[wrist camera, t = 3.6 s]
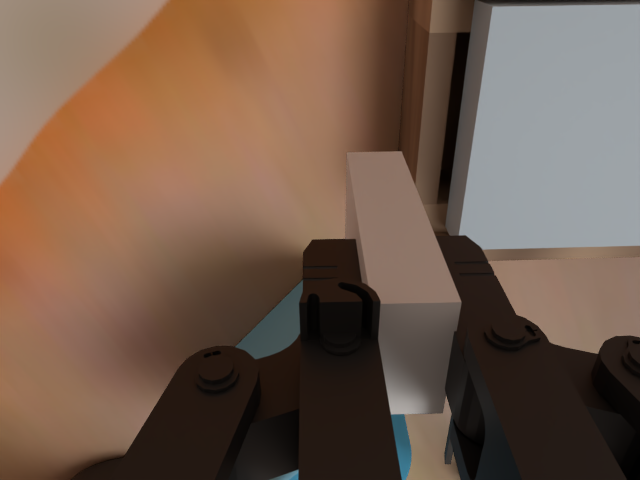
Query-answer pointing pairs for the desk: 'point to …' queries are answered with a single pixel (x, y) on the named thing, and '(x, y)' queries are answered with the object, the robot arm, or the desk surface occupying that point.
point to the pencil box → (450, 118)
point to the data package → (280, 334)
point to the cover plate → (549, 126)
